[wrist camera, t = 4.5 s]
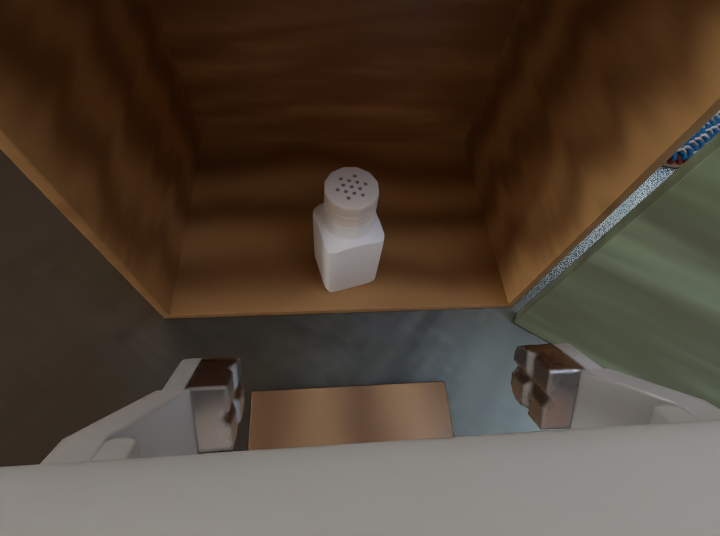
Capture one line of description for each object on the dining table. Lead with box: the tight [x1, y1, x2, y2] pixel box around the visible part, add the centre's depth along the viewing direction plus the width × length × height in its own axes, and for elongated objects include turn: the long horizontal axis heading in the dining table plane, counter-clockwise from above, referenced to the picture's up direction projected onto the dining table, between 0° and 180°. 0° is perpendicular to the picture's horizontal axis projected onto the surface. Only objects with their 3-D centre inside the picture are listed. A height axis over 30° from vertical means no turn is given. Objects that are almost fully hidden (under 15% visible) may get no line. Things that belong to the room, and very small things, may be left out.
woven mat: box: [662, 111, 720, 168], centre depth 41 cm, size 10×11×2 cm
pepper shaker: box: [313, 167, 384, 292], centre depth 26 cm, size 4×4×10 cm
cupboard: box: [0, 0, 720, 319], centre depth 23 cm, size 18×26×23 cm
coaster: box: [248, 381, 454, 451], centre depth 24 cm, size 13×11×1 cm
